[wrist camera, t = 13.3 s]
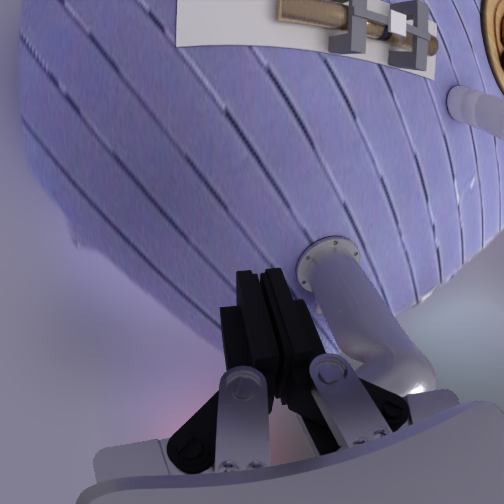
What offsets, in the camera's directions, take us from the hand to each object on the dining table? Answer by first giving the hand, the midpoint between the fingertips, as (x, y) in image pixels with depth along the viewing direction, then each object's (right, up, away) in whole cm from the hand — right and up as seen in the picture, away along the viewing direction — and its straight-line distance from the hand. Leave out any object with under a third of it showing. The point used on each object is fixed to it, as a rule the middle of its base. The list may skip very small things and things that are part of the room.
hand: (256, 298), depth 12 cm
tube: (+15, +34, +18) cm, 41 cm away
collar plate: (+10, +34, +18) cm, 40 cm away
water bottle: (+37, +29, +27) cm, 55 cm away
